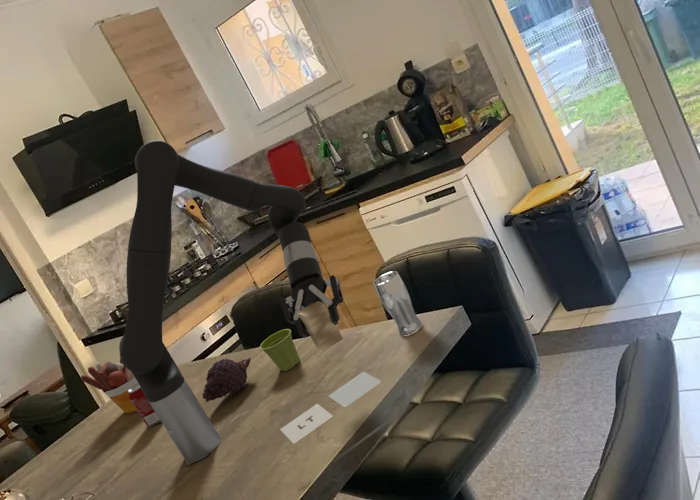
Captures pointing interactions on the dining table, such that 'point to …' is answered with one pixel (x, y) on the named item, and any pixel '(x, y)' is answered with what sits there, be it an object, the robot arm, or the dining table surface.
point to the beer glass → (397, 302)
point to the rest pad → (354, 389)
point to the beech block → (320, 325)
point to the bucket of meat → (113, 383)
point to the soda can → (143, 406)
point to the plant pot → (281, 349)
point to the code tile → (306, 423)
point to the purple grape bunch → (225, 378)
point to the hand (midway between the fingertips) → (320, 329)
